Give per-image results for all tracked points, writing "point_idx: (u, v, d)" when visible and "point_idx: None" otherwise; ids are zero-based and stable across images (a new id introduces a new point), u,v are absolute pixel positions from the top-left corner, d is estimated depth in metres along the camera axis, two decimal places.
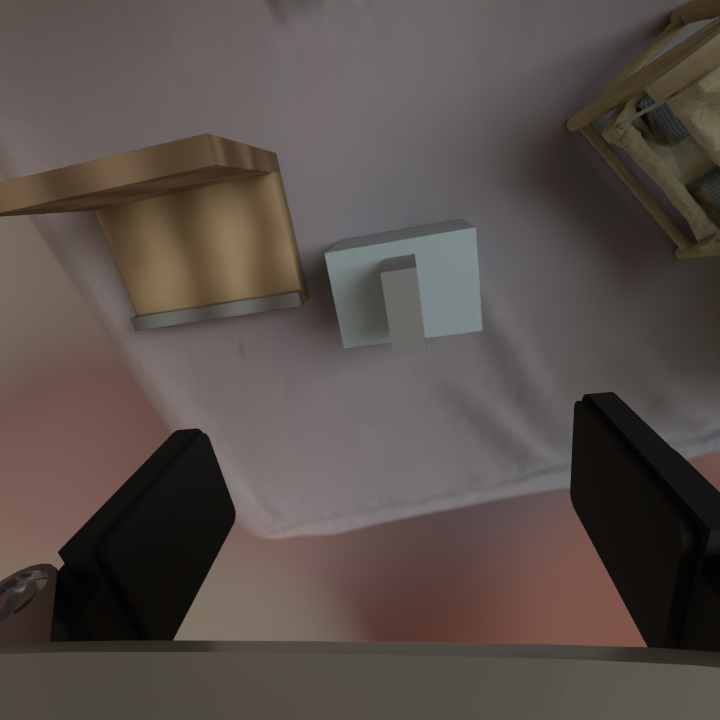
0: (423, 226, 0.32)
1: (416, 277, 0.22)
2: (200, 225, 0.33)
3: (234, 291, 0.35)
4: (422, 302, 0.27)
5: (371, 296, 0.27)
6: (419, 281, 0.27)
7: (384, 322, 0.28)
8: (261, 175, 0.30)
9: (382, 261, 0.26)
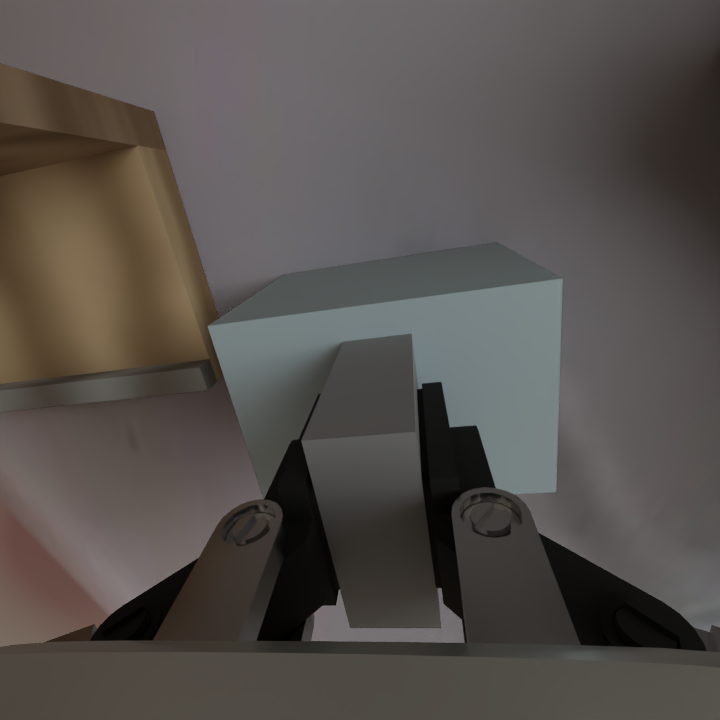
0: (429, 256, 0.17)
1: (414, 459, 0.07)
2: (20, 244, 0.18)
3: (96, 358, 0.20)
4: None
5: None
6: None
7: None
8: (116, 151, 0.16)
9: (337, 347, 0.12)
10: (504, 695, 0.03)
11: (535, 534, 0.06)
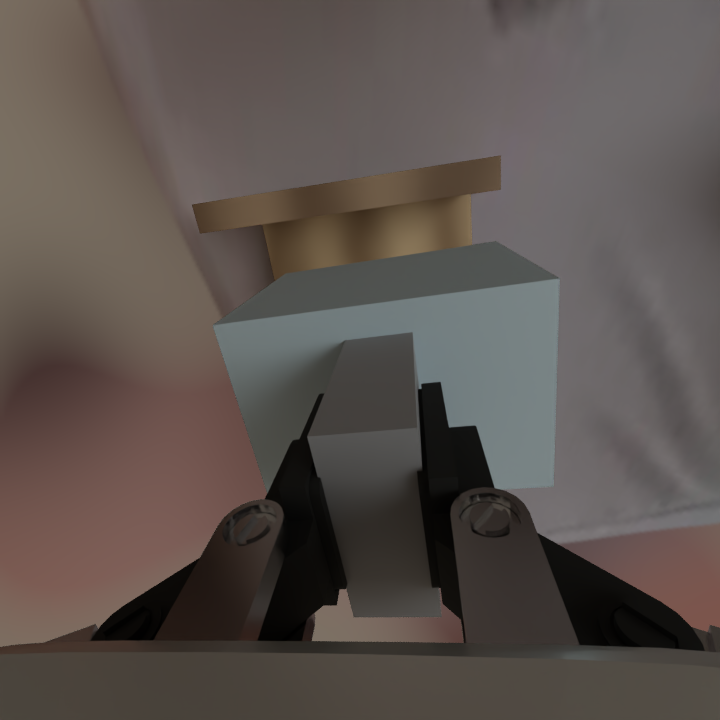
0: (429, 255, 0.17)
1: (416, 454, 0.07)
2: (376, 242, 0.30)
3: None
4: None
5: None
6: None
7: None
8: None
9: (340, 346, 0.12)
10: (504, 694, 0.03)
11: (534, 534, 0.06)
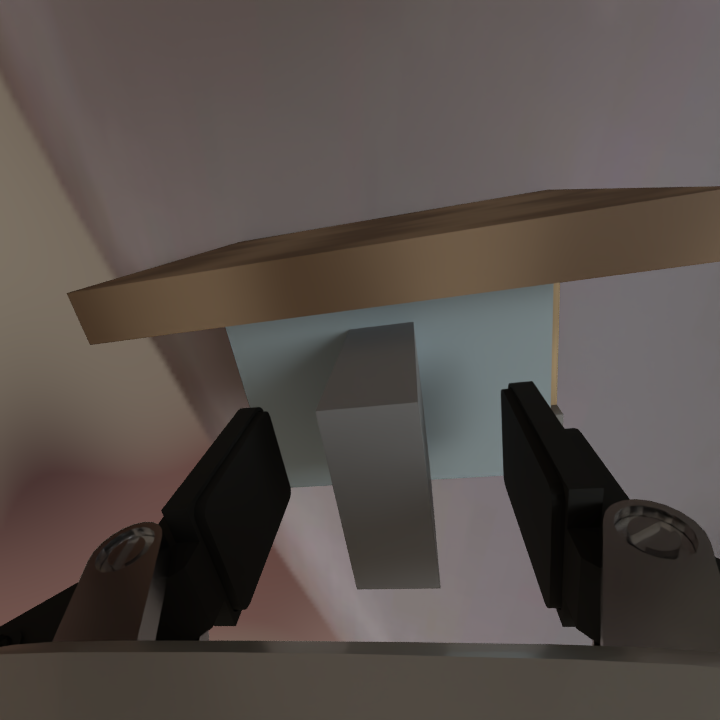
0: None
1: (417, 427, 0.08)
2: None
3: None
4: (428, 416, 0.13)
5: None
6: (422, 376, 0.13)
7: None
8: None
9: (344, 335, 0.12)
10: (504, 695, 0.03)
11: (713, 568, 0.05)
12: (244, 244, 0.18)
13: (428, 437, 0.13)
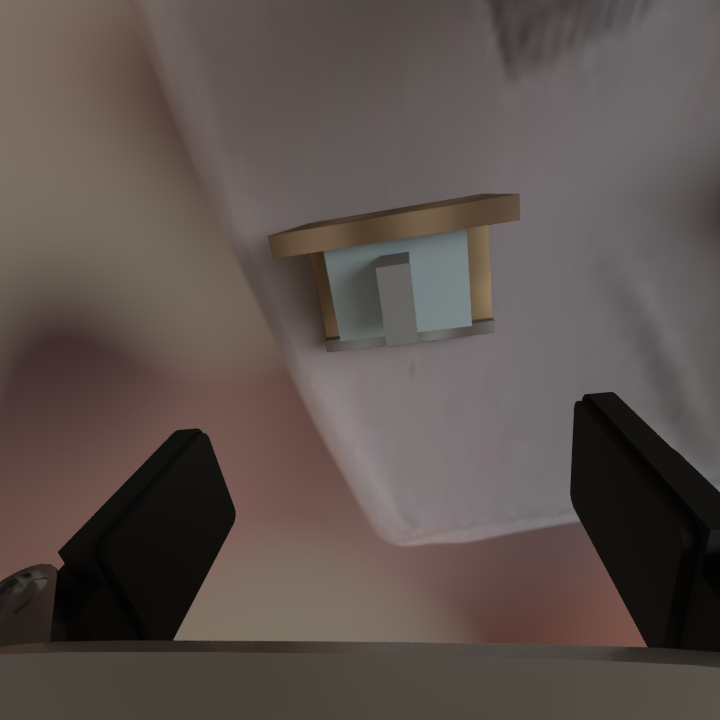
0: None
1: (409, 272, 0.23)
2: None
3: None
4: (415, 298, 0.29)
5: (367, 291, 0.29)
6: (412, 278, 0.28)
7: (379, 316, 0.29)
8: None
9: (378, 258, 0.28)
10: (504, 695, 0.03)
11: None
12: (317, 223, 0.34)
13: (415, 309, 0.29)
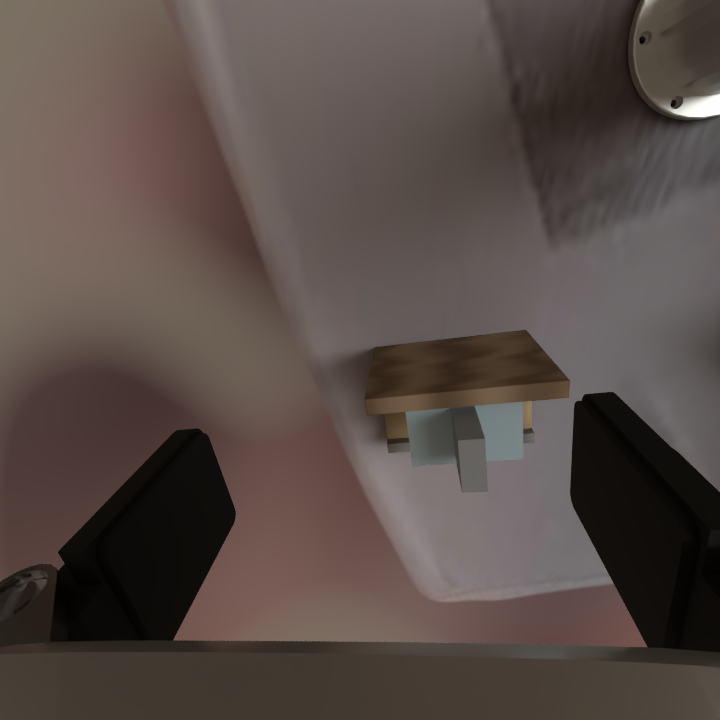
0: None
1: (484, 444, 0.30)
2: None
3: None
4: None
5: (438, 432, 0.35)
6: None
7: (446, 449, 0.36)
8: None
9: (448, 409, 0.34)
10: (504, 695, 0.03)
11: None
12: (387, 356, 0.40)
13: None
